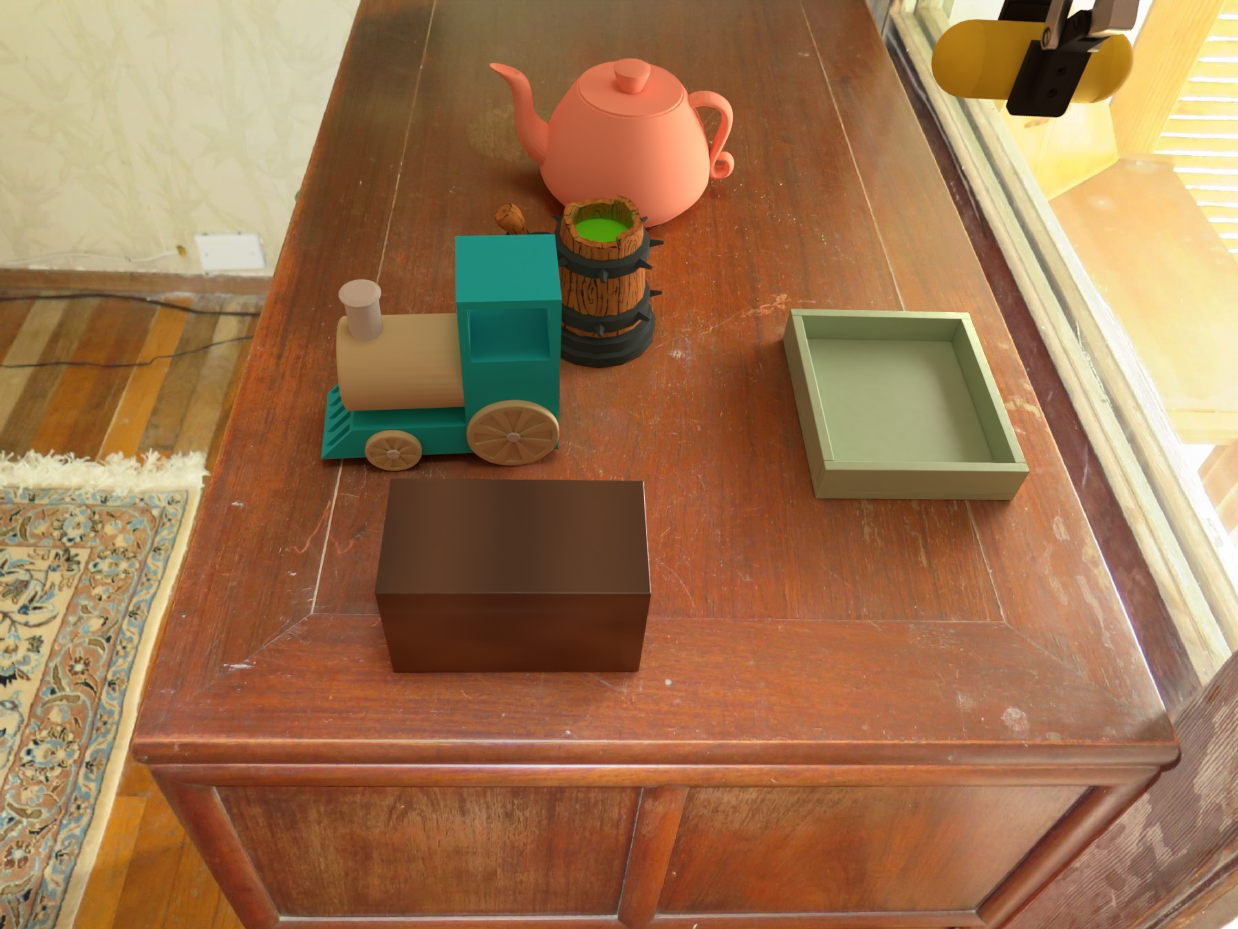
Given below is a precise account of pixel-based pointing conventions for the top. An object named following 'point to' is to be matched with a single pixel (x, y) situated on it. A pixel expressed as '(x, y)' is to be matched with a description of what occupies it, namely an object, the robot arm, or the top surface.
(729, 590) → the top surface
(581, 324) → the mug
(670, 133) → the teapot
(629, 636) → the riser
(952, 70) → the yellow capsule toy
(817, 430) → the tray
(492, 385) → the toy train
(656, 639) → the top surface
